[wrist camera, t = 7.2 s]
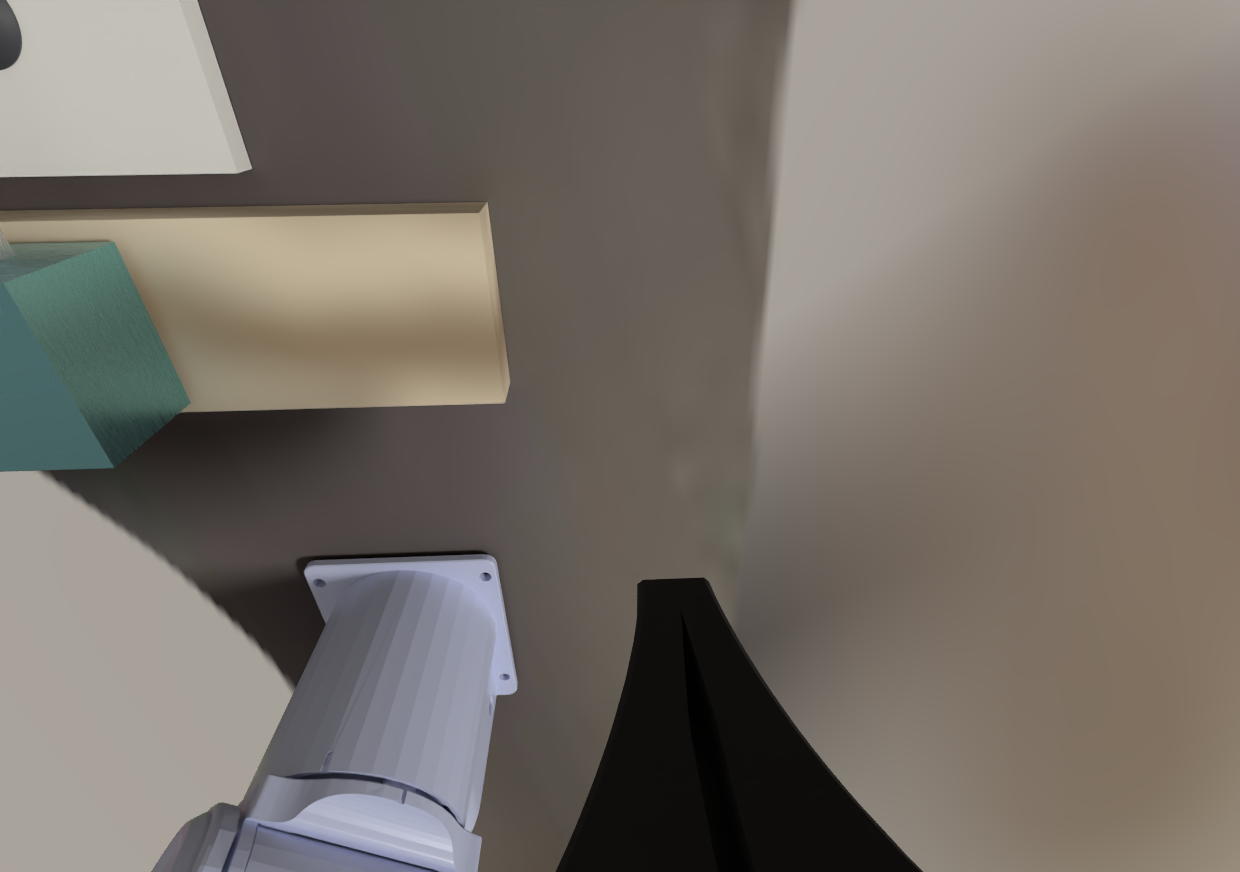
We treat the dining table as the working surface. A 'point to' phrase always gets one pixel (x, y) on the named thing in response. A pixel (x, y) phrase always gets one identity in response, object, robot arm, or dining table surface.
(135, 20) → the bolt plate
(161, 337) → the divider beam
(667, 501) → the dining table surface
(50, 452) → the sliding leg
